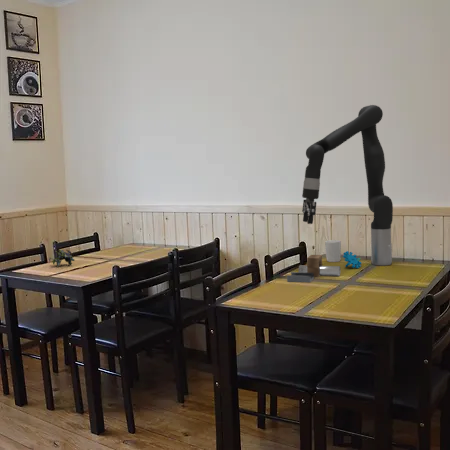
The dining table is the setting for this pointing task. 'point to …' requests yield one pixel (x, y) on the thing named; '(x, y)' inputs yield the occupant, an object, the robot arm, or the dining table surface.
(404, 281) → the dining table surface
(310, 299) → the dining table surface
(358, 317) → the dining table surface
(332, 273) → the axle
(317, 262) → the brown block
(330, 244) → the white cup
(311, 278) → the v block
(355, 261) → the gear
